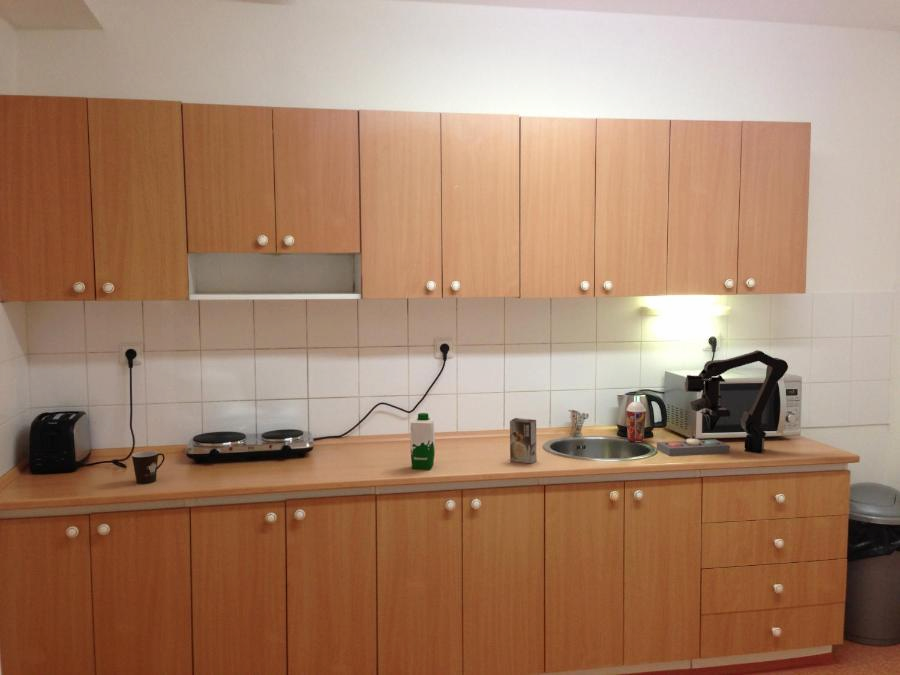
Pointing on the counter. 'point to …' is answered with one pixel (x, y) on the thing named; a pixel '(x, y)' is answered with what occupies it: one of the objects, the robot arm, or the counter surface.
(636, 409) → the smoothie
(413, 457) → the milk carton
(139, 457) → the coffee mug
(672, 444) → the red button
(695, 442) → the cream button
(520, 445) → the coffee box
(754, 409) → the robot arm
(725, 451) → the button panel
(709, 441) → the teal button
